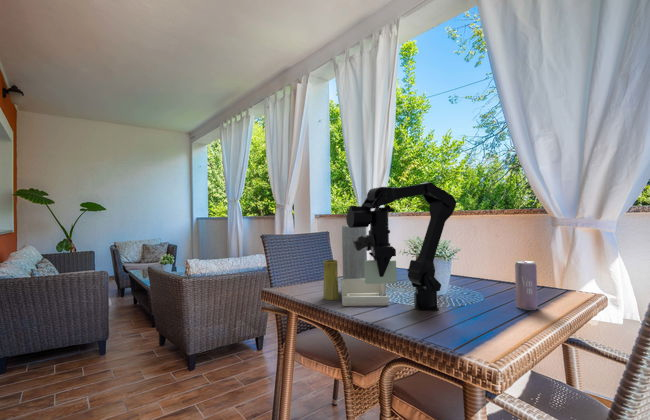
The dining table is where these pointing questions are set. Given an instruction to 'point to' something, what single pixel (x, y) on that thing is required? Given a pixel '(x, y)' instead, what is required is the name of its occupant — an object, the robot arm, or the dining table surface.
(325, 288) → the vase
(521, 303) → the beverage can
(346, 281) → the cabinet
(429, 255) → the robot arm
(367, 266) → the door
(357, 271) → the planter
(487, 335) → the dining table surface
